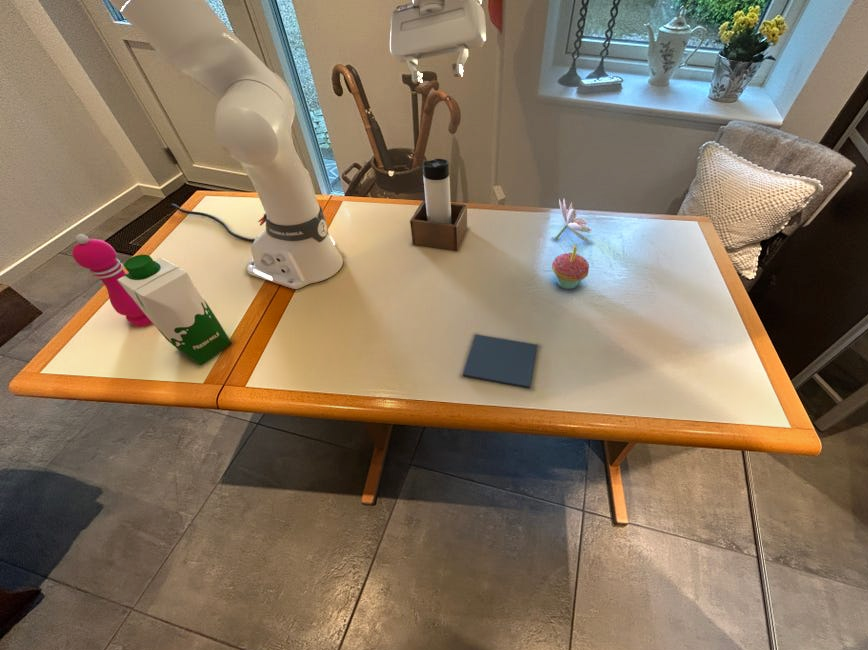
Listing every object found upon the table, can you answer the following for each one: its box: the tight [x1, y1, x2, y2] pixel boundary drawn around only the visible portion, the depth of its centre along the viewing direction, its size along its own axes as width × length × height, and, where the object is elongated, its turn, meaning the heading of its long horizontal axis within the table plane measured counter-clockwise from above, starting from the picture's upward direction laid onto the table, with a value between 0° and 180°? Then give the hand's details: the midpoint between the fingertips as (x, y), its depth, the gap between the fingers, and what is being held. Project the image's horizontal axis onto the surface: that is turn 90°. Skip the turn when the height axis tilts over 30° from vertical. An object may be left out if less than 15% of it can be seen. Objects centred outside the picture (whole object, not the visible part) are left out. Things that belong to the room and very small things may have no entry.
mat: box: [462, 334, 538, 389], centre depth 80 cm, size 13×11×1 cm
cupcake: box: [551, 243, 590, 290], centre depth 92 cm, size 9×8×12 cm
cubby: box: [409, 199, 468, 252], centre depth 106 cm, size 12×11×7 cm
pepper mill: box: [71, 233, 154, 328], centre depth 79 cm, size 7×7×20 cm
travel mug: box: [422, 158, 452, 224], centre depth 101 cm, size 6×7×20 cm
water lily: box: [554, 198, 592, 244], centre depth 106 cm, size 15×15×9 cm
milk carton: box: [118, 254, 233, 366], centre depth 73 cm, size 9×9×20 cm
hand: (437, 79), depth 81 cm, fingers open, 8 cm apart
